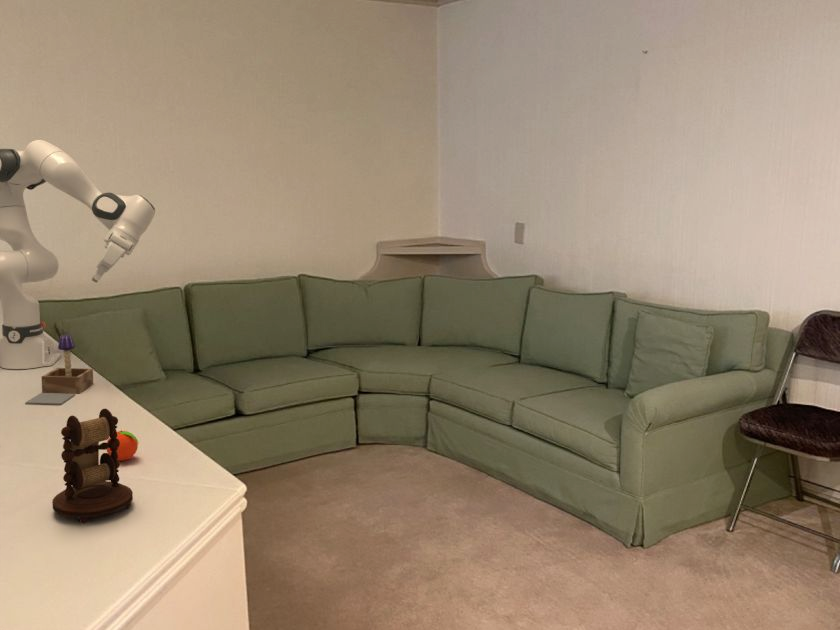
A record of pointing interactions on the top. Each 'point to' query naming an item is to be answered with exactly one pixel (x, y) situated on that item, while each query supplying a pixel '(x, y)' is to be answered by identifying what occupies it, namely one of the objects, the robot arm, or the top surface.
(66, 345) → the toy lamp
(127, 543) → the top surface
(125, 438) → the clementine
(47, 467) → the top surface
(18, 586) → the top surface
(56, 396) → the slate mat
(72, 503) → the brown wooden spool rack
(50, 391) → the walnut crate
